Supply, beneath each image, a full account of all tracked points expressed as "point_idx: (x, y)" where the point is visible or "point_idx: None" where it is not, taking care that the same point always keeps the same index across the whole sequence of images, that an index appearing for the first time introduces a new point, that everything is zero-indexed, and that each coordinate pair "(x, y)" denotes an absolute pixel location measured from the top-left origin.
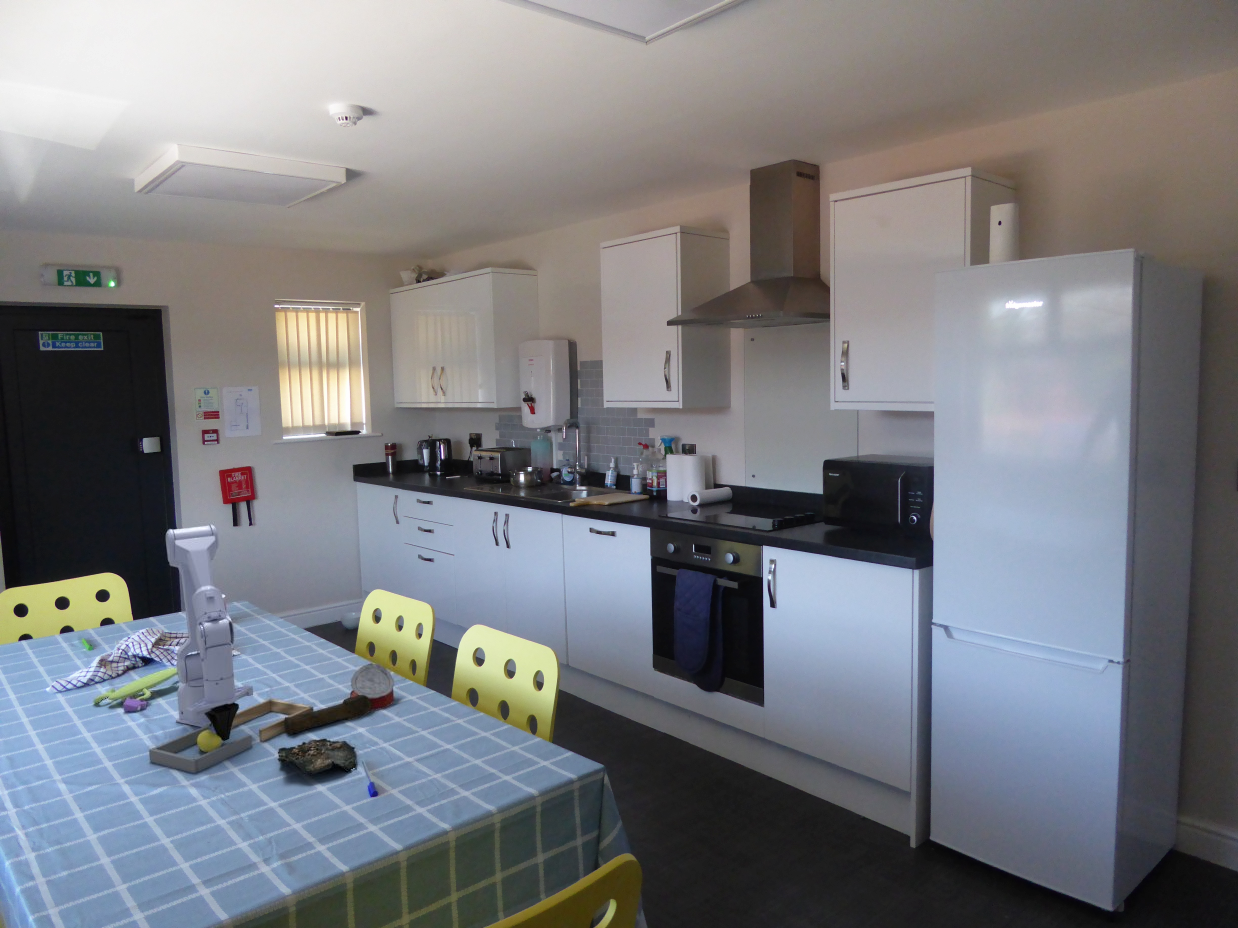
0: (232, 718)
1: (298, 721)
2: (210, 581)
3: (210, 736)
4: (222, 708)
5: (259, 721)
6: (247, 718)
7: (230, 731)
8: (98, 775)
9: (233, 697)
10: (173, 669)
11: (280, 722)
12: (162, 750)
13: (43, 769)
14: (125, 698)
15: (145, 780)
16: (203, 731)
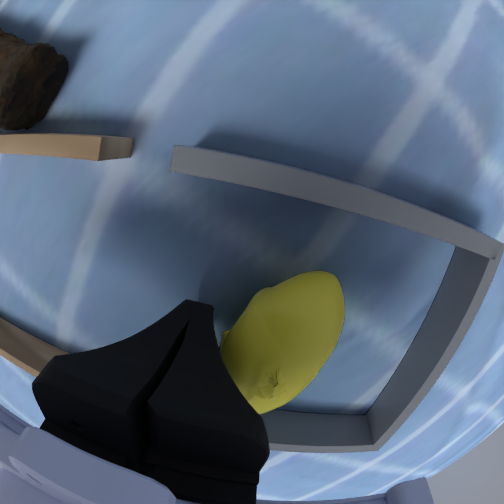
0: (132, 346)
1: (16, 46)
2: None
3: (305, 352)
4: (164, 461)
5: (23, 299)
6: (35, 343)
7: (172, 311)
8: (422, 441)
9: (39, 486)
10: None
11: (17, 135)
12: (349, 433)
13: None
14: None
15: (482, 343)
16: None
